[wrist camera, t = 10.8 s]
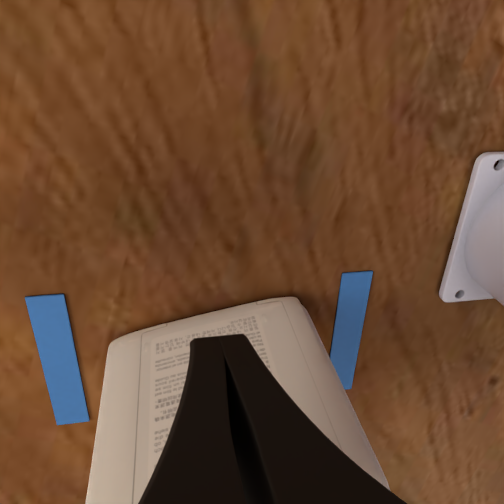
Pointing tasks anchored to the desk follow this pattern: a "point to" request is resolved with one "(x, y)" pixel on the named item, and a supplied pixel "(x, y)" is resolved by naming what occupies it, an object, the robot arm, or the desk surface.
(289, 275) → the desk surface
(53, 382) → the tape marks
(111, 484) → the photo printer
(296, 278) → the desk surface
